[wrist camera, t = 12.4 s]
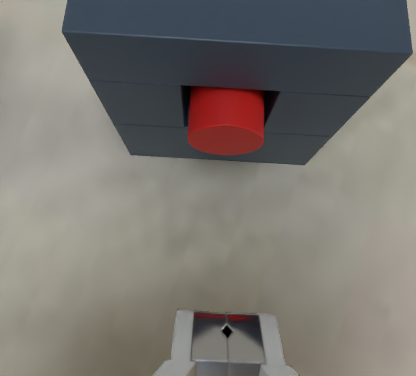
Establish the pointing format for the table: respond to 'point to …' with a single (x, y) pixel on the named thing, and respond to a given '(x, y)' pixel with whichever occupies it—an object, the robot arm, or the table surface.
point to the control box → (236, 65)
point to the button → (226, 120)
